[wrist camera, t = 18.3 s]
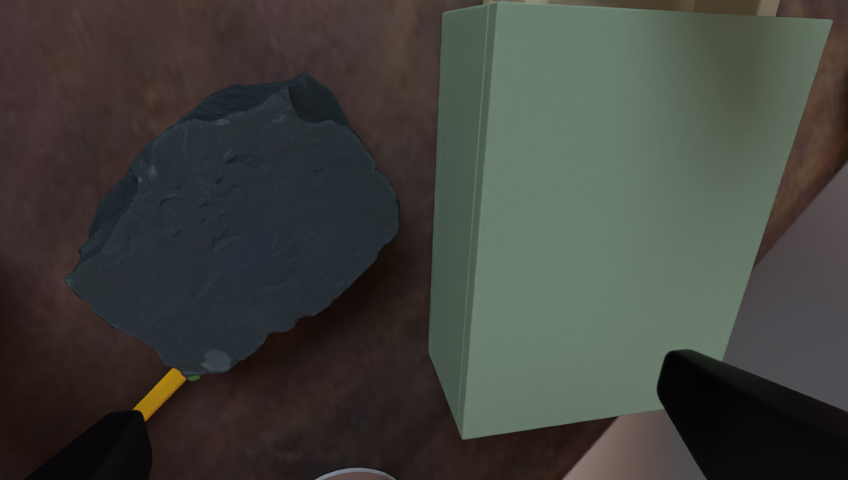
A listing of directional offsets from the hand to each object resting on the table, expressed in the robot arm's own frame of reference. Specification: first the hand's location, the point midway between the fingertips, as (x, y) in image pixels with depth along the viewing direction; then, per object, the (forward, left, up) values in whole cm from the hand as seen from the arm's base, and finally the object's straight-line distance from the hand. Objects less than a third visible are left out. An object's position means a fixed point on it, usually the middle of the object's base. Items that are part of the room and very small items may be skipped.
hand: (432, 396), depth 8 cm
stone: (-5, -1, -13) cm, 14 cm away
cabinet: (+9, -1, -13) cm, 16 cm away
